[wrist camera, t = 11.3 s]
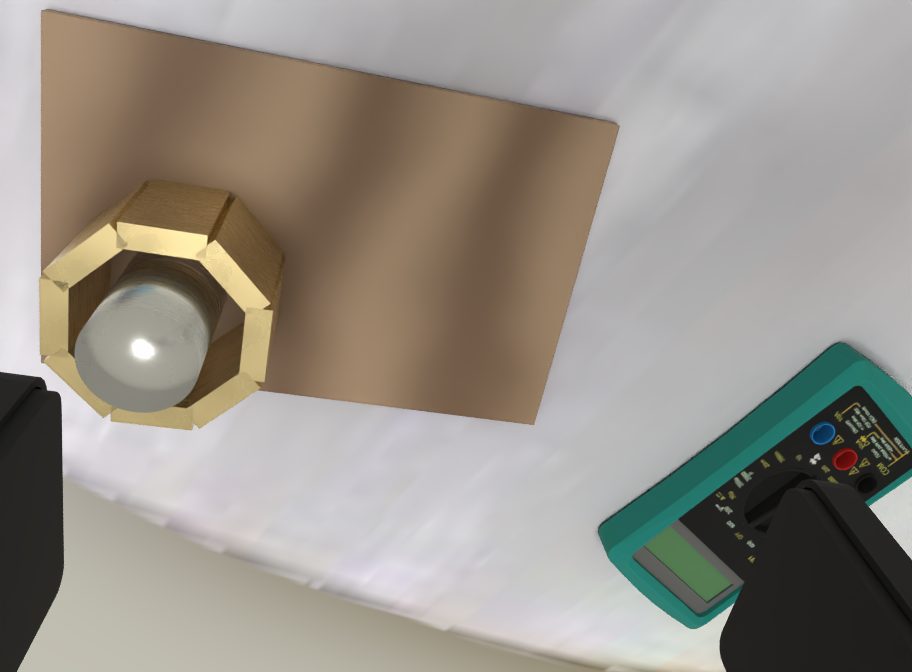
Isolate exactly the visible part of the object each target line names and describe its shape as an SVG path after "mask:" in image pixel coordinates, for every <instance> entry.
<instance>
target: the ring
mask: <svg viewBox="0 0 912 672" xmlns="http://www.w3.org/2000/svg"><path fill="white" fill-rule="evenodd" d="M123 249H127V250H133V251H140V252H147V253H154V254H160V255H167V256H174V257H181V258H188V259H194V260H199V261H200V262H201V263H202V264H203V266H204V267H205V268H206V269H207V270H208V271H209V272H210V273H211V275H212V276H213V277H214V278H215V279H216V280H217V281H218V283H219V284H220V285H221V286H222V287H223V288H224V289H225V290H226V292H227V293H228V294H229V295H230V296H231V297H232V298H233V299H234V301H235V302H236V303H237V304H238V305H239V306H240V307H241V308H242V310H243V311H244V312H245V313H246V314H245V321H243V322H242V323H240V324H239V325H237V326H236V327H234V328H233V329H231V330H230V331H228V332H227V333H225V334H224V335H223V336H221V337H220V338H218V339H217V340H215V341H214V342H212V343H210V346H209V349H208V351H207V354H206V357H205V359H204V362H203V365H202V368H201V370H200V373H199V376H198V379H197V381H196V383H195V385H194V387H193V389H192V390H191V392H190V393H189V394H188V395H187V396H186V397H185V398H184V399H183V400H182V401H180V402H179V403H178V404H176V405H174V406H172V407H170V408H167V409H165V410H161V411H157V412H150V413H138V412H130V411H125V410H122V409H119V408H116V407H114V406H111V405H109V404H108V403H106V402H104V401H102V400H101V399H100V398H98V397H97V396H96V395H95V394H93V393H92V392H91V391H90V390H89V389H88V387H87V386H86V385H85V383H84V382H83V381H82V379H81V377H80V375H79V373H78V370H77V368H76V363H75V355H74V352H75V344H76V341H77V338H78V336H79V333H80V332H81V330H82V329H83V327H84V326H85V324H86V323H87V322H88V320H89V319H90V317H91V316H92V315H93V313H94V312H95V310H96V309H97V307H98V306H99V305H100V303H101V302H102V300H103V299H104V298H105V296H106V295H107V293H108V292H109V291H110V279H111V258H112V257H113V256H115V255H116V254H117V253H119V252H120V251H121V250H123ZM282 255H283V250H282V249H281V247H280V246H279V245H278V244H277V243H276V241H275V240H274V239H273V238H272V237H271V235H270V234H269V233H268V232H267V230H266V229H265V228H264V227H263V226H262V224H261V223H260V222H259V221H258V220H257V218H256V217H255V216H254V215H253V214H252V212H251V211H250V210H249V209H248V207H247V206H246V205H245V204H244V203H243V201H242V200H241V199H240V198H239V197H238V195H236V196H234V197H233V198H232V199H230V191H227V190H221V189H215V188H209V187H203V186H197V185H191V184H185V183H178V182H172V181H166V180H160V179H153V180H152V182H151V183H149V182H148V181H147V180H146V181H145V182H144V183H142V184H141V185H140V186H138V187H137V188H135V189H134V190H133V191H131V192H130V193H129V194H127V195H126V196H125V197H123V198H122V199H121V200H119V201H118V202H116V203H115V204H114V205H112V206H111V207H110V208H108V209H107V210H106V211H104V212H103V213H101V214H100V215H99V216H97V217H96V218H95V219H93V220H92V221H91V222H90V223H89V224H88V225H87V226H86V227H85V228H84V229H83V230H82V231H81V232H80V233H79V234H78V235H77V236H76V237H75V238H74V239H73V240H72V241H71V243H70V244H69V245H68V246H67V247H66V248H65V249H64V250H63V251H62V252H61V253H60V254H59V255H58V256H57V257H56V258H55V259H54V260H53V261H52V262H51V264H50V265H49V266H48V267H47V268H46V269H45V270H44V271H43V272H44V274H43V275H42V276H41V277H40V278H39V297H40V355H48V356H47V357H46V359H45V360H44V361H43V362H44V363H45V364H46V365H47V366H49V367H50V368H51V369H52V370H53V371H54V372H55V373H56V374H57V375H58V376H59V377H60V378H61V379H62V380H63V381H64V382H66V383H67V384H68V385H69V386H70V387H71V388H72V389H73V390H74V391H75V392H76V393H77V394H78V395H79V396H80V397H81V398H82V399H84V400H85V401H86V402H87V403H88V404H89V405H90V406H91V407H92V408H93V409H94V410H95V411H96V412H97V413H98V414H99V415H101V416H102V417H103V418H104V417H105V416H107V415H108V414H110V413H111V421H112V422H121V423H130V424H139V425H148V426H157V427H166V428H175V429H184V430H192V429H193V426H194V424H195V425H196V426H197V427H198V428H199V429H200V428H201V427H203V426H204V425H206V424H207V423H209V422H210V421H212V420H213V419H215V418H216V417H218V416H219V415H221V414H222V413H224V412H225V411H227V410H228V409H230V408H231V407H233V406H234V405H236V404H237V403H239V402H240V401H242V400H243V399H245V398H246V397H248V396H249V395H251V394H252V393H254V392H255V391H257V390H258V389H260V388H261V384H262V382H265V377H266V373H267V368H268V363H269V359H270V354H271V349H272V344H273V340H274V335H275V330H276V326H277V321H278V313H279V305H280V297H281V289H282V281H283V273H284V265H285V257H282Z"/></svg>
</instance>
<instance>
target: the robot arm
mask: <svg viewBox="0 0 912 672" xmlns="http://www.w3.org/2000/svg"><path fill="white" fill-rule="evenodd" d="M63 542H64V541H63V475H62V410H61V397H60V394H59V393H58V392H55V391H47V387H46V384H45V381H44V380H43V379H42V378H41V377H34V376H26V375H19V374H11V373H4V372H0V672H17V670H18V668H19V666H20V664H21V662H22V660H23V659H24V657H25V655H26V653H27V651H28V649H29V647H30V645H31V643H32V641H33V639H34V638H35V636H36V634H37V632H38V630H39V628H40V625H41V624H42V622H43V620H44V618H45V616H46V614H47V612H48V610H49V609H50V607H51V605H52V603H53V601H54V599H55V597H56V594H57V593H58V590H59V587H60V583H61V580H62V575H63V569H64V545H63V544H64V543H63ZM720 655H721V659H722V662H723V665H724V667H725V669H726V672H912V560H911V559H910V557H909V556H908V555H907V554H906V552H905V551H904V550H903V549H902V547H901V546H900V545H899V544H898V543H897V541H896V540H895V539H894V538H893V536H892V535H891V534H890V533H889V531H888V530H887V529H886V528H885V526H884V525H883V524H882V523H881V521H880V520H879V519H878V518H877V517H876V515H875V514H874V513H873V512H872V510H871V509H870V508H869V507H868V505H867V504H866V503H865V502H864V500H863V499H862V498H861V497H860V495H859V494H858V493H857V492H856V491H855V490H854V489H853V488H852V487H851V486H849V485H846V484H841V483H833V482H825V481H818V480H810V479H807V480H803V481H801V482H800V483H799V484H798V485H797V486H796V488H791V489H788V490H787V491H786V492H785V493H784V495H783V497H782V499H781V501H780V503H779V505H778V508H777V510H776V512H775V514H774V517H773V519H772V521H771V523H770V526H769V528H768V530H767V532H766V535H765V537H764V539H763V541H762V543H761V546H760V548H759V550H758V552H757V555H756V557H755V559H754V561H753V564H752V566H751V568H750V570H749V572H748V575H747V577H746V579H745V581H744V584H743V586H742V588H741V590H740V593H739V595H738V597H737V599H736V601H735V604H734V606H733V608H732V610H731V613H730V615H729V617H728V619H727V622H726V624H725V626H724V628H723V631H722V633H721V637H720Z"/></svg>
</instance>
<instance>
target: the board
mask: <svg viewBox="0 0 912 672" xmlns="http://www.w3.org/2000/svg"><path fill="white" fill-rule="evenodd" d="M619 127H620V126H619V125H618V124H616V123H614V122H609V121H604V120H599V119H594V118H589V117H584V116H579V115H574V114H569V113H564V112H559V111H554V110H549V109H544V108H539V107H534V106H529V105H524V104H519V103H514V102H509V101H504V100H499V99H494V98H489V97H484V96H479V95H474V94H469V93H464V92H459V91H454V90H449V89H444V88H439V87H434V86H429V85H424V84H419V83H414V82H409V81H404V80H399V79H394V78H389V77H384V76H379V75H374V74H369V73H364V72H359V71H354V70H349V69H344V68H339V67H334V66H329V65H324V64H319V63H314V62H309V61H304V60H299V59H294V58H289V57H284V56H279V55H274V54H269V53H264V52H259V51H254V50H249V49H244V48H239V47H234V46H229V45H224V44H219V43H214V42H209V41H204V40H199V39H194V38H189V37H184V36H179V35H174V34H169V33H164V32H159V31H154V30H149V29H144V28H139V27H134V26H129V25H124V24H119V23H114V22H109V21H104V20H99V19H94V18H89V17H84V16H79V15H74V14H69V13H64V12H59V11H54V10H49V9H46V10H41V276H42V275H43V274H44V272H43V271H44V270H45V269H46V268H47V267H48V266H49V265H50V264H51V262H52V261H53V260H54V259H55V258H56V257H57V256H58V255H59V254H60V253H61V252H62V251H63V250H64V249H65V248H66V247H67V246H68V245H69V244H70V243H71V241H72V240H73V239H74V238H75V237H76V236H77V235H78V234H79V233H80V232H81V231H82V230H83V229H84V228H85V227H86V226H87V225H88V224H89V223H90V222H91V221H92V220H93V219H95V218H96V217H97V216H99V215H100V214H101V213H103V212H104V211H106V210H107V209H108V208H110V207H111V206H112V205H114V204H115V203H116V202H118V201H119V200H121V199H122V198H123V197H125V196H126V195H127V194H129V193H130V192H131V191H133V190H134V189H135V188H137V187H138V186H140V185H141V184H142V183H144V182H145V181H146V180H147V181H148V182H149V183H151V182H152V180H153V179H160V180H166V181H172V182H178V183H185V184H191V185H197V186H203V187H209V188H215V189H221V190H227V191H230V199H232V198H233V197H234V196H236V195H238V197H239V198H240V199H241V200H242V201H243V203H244V204H245V205H246V206H247V207H248V209H249V210H250V211H251V212H252V214H253V215H254V216H255V217H256V218H257V220H258V221H259V222H260V223H261V224H262V226H263V227H264V228H265V229H266V230H267V232H268V233H269V234H270V235H271V237H272V238H273V239H274V240H275V241H276V243H277V244H278V245H279V246H280V247H281V249H282V250H283V255H282V257H285V265H284V273H283V281H282V289H281V297H280V305H279V313H278V321H277V326H276V330H275V335H274V340H273V344H272V349H271V354H270V359H269V363H268V368H267V373H266V377H265V382H262V384H261V388H260V389H258V390H261V391H268V392H276V393H284V394H292V395H300V396H308V397H316V398H324V399H332V400H340V401H348V402H356V403H364V404H372V405H379V406H387V407H395V408H403V409H411V410H419V411H427V412H435V413H443V414H451V415H459V416H467V417H475V418H483V419H490V420H498V421H506V422H514V423H522V424H530V425H534V423H535V420H536V416H537V413H538V409H539V406H540V402H541V399H542V395H543V392H544V388H545V385H546V381H547V378H548V374H549V371H550V367H551V364H552V360H553V357H554V353H555V350H556V346H557V343H558V339H559V336H560V332H561V329H562V326H563V322H564V319H565V315H566V312H567V308H568V305H569V301H570V298H571V294H572V291H573V287H574V284H575V280H576V277H577V273H578V270H579V266H580V263H581V259H582V256H583V252H584V249H585V245H586V242H587V238H588V235H589V231H590V228H591V224H592V221H593V217H594V214H595V210H596V207H597V203H598V200H599V196H600V193H601V190H602V186H603V183H604V179H605V176H606V172H607V169H608V165H609V162H610V158H611V155H612V151H613V148H614V144H615V141H616V137H617V134H618V130H619ZM136 253H137V251H133V250H127V249H123V250H121V251H120V252H119V253H117V254H116V255H115V256H113V257H112V258H111V279H110V289H111V288H112V286H113V285H114V284H115V282H116V281H117V279H118V278H119V277H120V275H121V274H122V272H123V271H124V269H125V268H126V267H127V265H128V264H129V262H130V261H131V260H132V258H133V257H134V255H135V254H136ZM245 314H246V313H245V312H244V311H243V310H242V308H241V307H240V306H239V305H238V304H237V303H236V302H235V301H234V299H233V298H232V297H231V296H230V295H229V294H228V297H227V300H226V302H225V305H224V308H223V311H222V313H221V316H220V319H219V321H218V324H217V327H216V330H215V332H214V335H213V338H212V340H211V343H212V342H214V341H215V340H217V339H218V338H220V337H221V336H223V335H224V334H225V333H227V332H228V331H230V330H231V329H233V328H234V327H236V326H237V325H239V324H240V323H242V322H243V321H245ZM47 356H48V355H41V363H44V362H43V361H44V360H45V359H46V357H47Z"/></svg>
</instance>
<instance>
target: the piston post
mask: <svg viewBox="0 0 912 672" xmlns="http://www.w3.org/2000/svg"><path fill="white" fill-rule="evenodd" d="M227 297H228V293H227V292H226V290H225V289H224V288H223V287H222V286H221V285H220V284H219V283H218V281H217V280H216V279H215V278H214V277H213V276H212V275H211V273H210V272H209V271H208V270H207V269H206V268H205V267H204V266H203V264H202V263H201V262H200V261H199V260H194V259H188V258H181V257H174V256H167V255H160V254H154V253H147V252H140V251H137V253H136V254H135V255H134V257H133V258H132V260H131V261H130V262H129V264H128V265H127V267H126V268H125V269H124V271H123V272H122V274H121V275H120V277H119V278H118V279H117V281H116V282H115V284H114V285H113V286H112V288H111V289H110V291H109V292H108V293H107V295H106V296H105V298H104V299H103V300H102V302H101V303H100V305H99V306H98V307H97V309H96V310H95V312H94V313H93V315H92V316H91V317H90V319H89V320H88V322H87V323H86V324H85V326H84V327H83V329H82V330H81V332H80V333H79V336H78V338H77V341H76V344H75V352H74V355H75V363H76V368H77V370H78V373H79V375H80V377H81V379H82V381H83V382H84V383H85V385H86V386H87V387H88V389H89V390H90V391H91V392H92V393H93V394H95V395H96V396H97V397H98V398H100V399H101V400H102V401H104V402H106V403H108V404H109V405H111V406H114V407H116V408H119V409H122V410H125V411H130V412H138V413H150V412H157V411H161V410H165V409H167V408H170V407H172V406H174V405H176V404H178V403H179V402H180V401H182V400H183V399H184V398H185V397H186V396H187V395H188V394H189V393H190V392H191V390H192V389H193V387H194V385H195V383H196V381H197V379H198V376H199V373H200V370H201V368H202V365H203V362H204V359H205V357H206V354H207V351H208V349H209V346H210V343H211V340H212V338H213V335H214V332H215V330H216V327H217V324H218V321H219V319H220V316H221V313H222V311H223V308H224V305H225V302H226V300H227Z"/></svg>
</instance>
